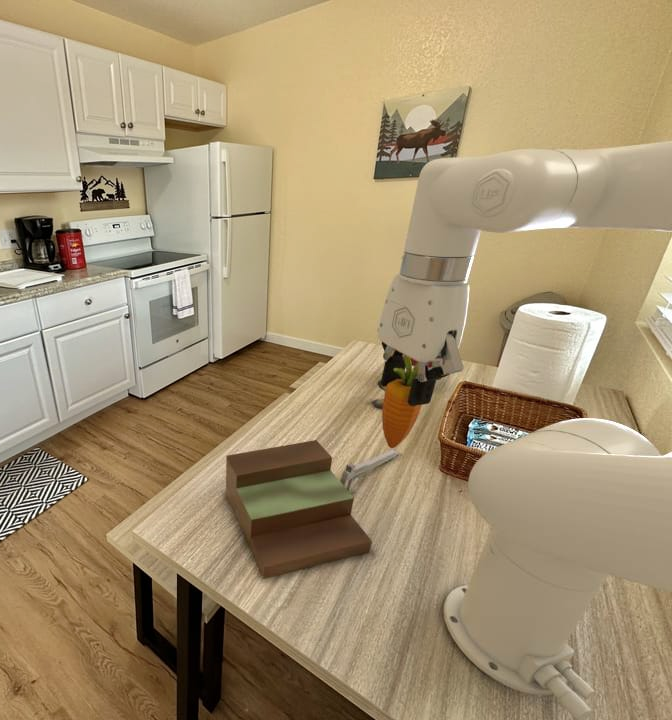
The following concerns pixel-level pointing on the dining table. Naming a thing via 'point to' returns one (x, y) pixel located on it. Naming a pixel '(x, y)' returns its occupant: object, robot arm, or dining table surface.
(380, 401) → the grey brown forked piece
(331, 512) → the brown stepped stand
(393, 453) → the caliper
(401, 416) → the carrot
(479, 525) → the dining table surface
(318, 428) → the dining table surface
